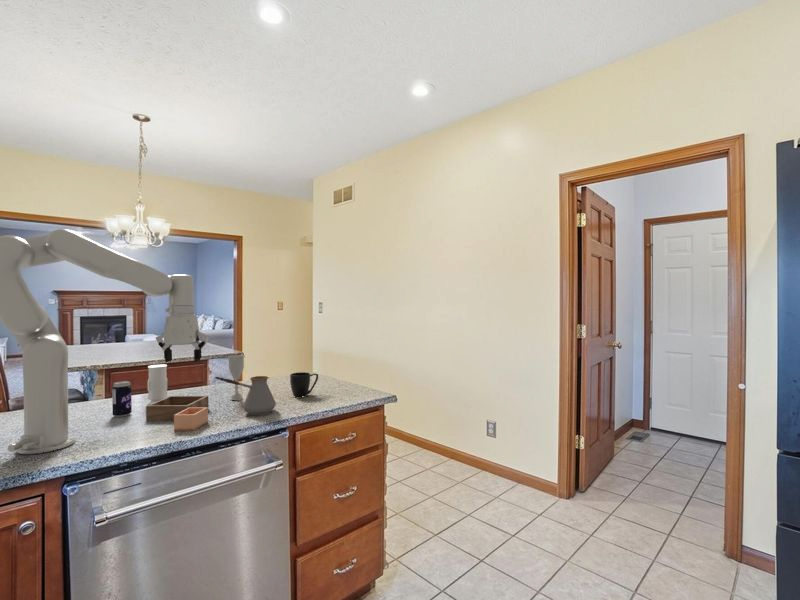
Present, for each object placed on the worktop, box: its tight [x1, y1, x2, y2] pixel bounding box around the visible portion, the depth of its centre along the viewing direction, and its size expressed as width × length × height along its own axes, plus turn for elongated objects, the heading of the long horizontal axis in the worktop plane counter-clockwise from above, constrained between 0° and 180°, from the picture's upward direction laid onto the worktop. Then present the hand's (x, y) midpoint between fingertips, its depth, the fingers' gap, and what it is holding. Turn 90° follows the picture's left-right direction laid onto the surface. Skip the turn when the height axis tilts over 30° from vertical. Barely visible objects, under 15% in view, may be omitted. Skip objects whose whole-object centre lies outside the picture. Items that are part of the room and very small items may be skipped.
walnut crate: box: [145, 395, 209, 421], centre depth 148 cm, size 15×15×5 cm
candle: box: [147, 364, 168, 405], centre depth 165 cm, size 7×7×15 cm
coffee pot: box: [212, 375, 277, 416], centre depth 146 cm, size 21×12×15 cm, turn 126°
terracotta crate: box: [173, 406, 209, 432], centre depth 134 cm, size 9×6×5 cm
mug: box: [289, 371, 319, 398], centre depth 175 cm, size 8×12×10 cm
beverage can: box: [111, 380, 133, 418], centre depth 147 cm, size 6×6×12 cm
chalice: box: [227, 354, 246, 401], centre depth 169 cm, size 7×7×18 cm
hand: (183, 361), depth 139 cm, fingers open, 9 cm apart
